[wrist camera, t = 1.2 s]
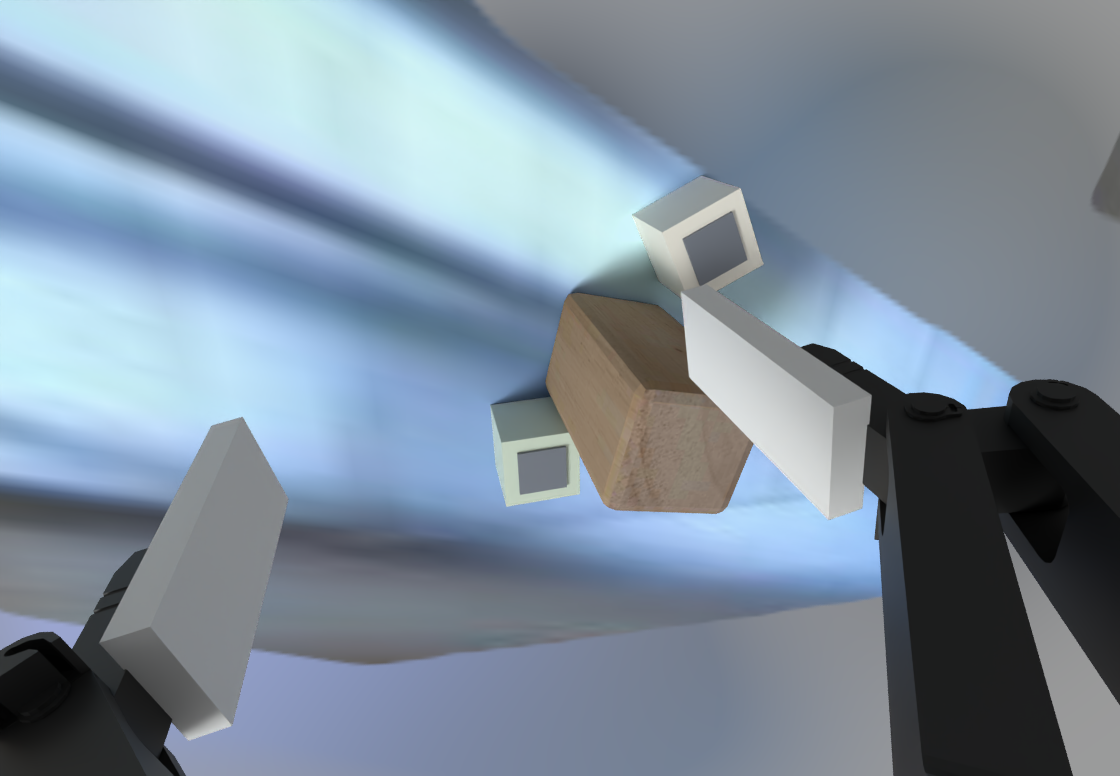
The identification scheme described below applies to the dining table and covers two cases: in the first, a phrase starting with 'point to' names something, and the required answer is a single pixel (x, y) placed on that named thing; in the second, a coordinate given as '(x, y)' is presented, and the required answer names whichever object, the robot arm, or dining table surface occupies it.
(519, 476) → the sage labelled cube
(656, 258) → the cream labelled cube
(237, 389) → the dining table surface
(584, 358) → the wooden block
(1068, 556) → the robot arm
